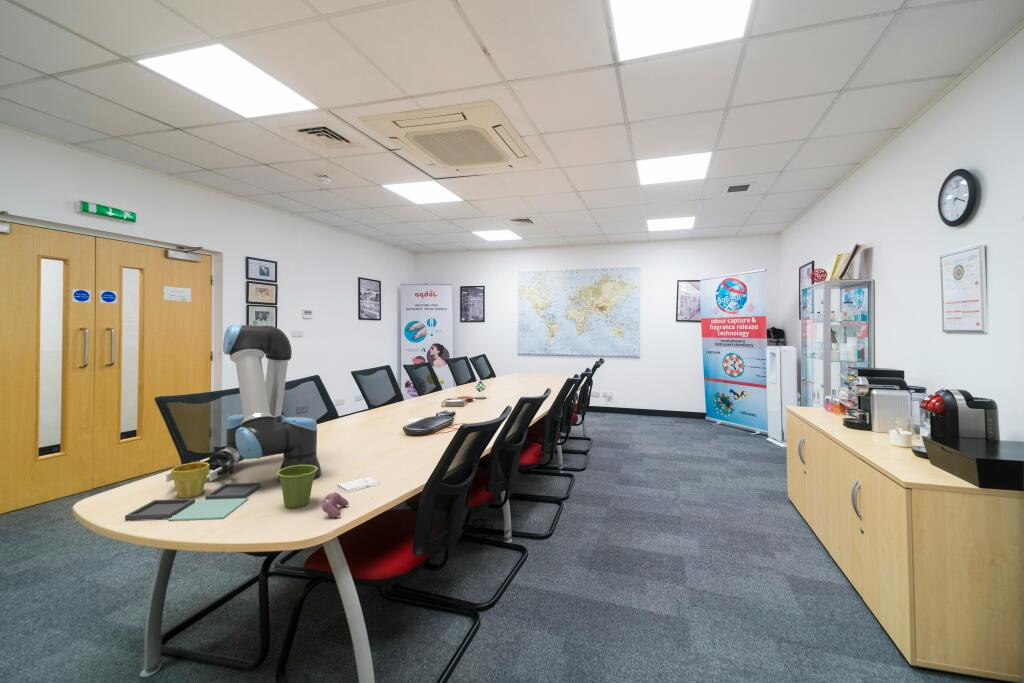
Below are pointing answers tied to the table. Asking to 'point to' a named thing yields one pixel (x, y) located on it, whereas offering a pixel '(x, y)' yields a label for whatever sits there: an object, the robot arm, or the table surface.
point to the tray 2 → (233, 491)
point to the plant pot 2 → (297, 484)
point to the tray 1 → (160, 509)
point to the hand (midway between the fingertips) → (188, 477)
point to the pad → (209, 509)
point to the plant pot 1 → (190, 478)
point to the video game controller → (333, 504)
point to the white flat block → (357, 483)
